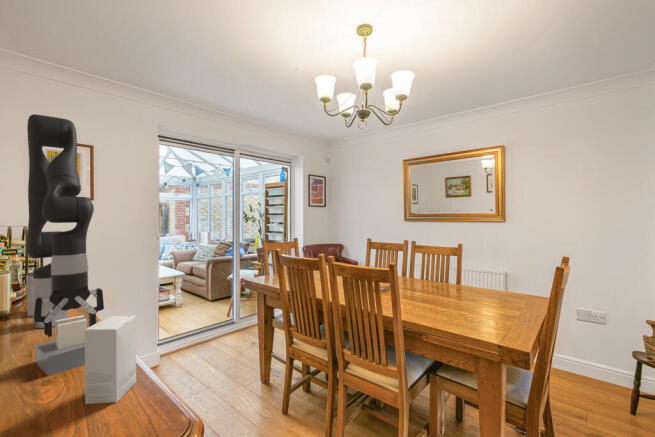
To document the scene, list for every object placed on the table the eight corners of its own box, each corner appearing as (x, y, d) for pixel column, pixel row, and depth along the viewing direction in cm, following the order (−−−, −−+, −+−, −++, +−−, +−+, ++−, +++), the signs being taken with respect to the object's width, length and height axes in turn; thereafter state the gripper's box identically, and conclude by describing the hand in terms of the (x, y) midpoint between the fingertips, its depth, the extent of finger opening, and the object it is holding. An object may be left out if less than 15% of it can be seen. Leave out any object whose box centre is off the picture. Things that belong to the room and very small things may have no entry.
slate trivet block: (35, 364, 82) (35, 345, 82) (90, 348, 91) (90, 331, 91) (48, 377, 75) (47, 357, 75) (106, 358, 84) (105, 340, 84)
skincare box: (109, 383, 71) (107, 315, 71) (139, 381, 72) (138, 314, 71) (83, 405, 63) (81, 329, 62) (117, 403, 63) (116, 327, 63)
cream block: (55, 342, 83) (54, 320, 83) (83, 336, 87) (83, 315, 87) (57, 349, 79) (57, 326, 79) (87, 342, 83) (86, 320, 83)
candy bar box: (56, 308, 131) (55, 269, 131) (65, 308, 130) (65, 269, 130) (25, 316, 120) (25, 274, 120) (36, 317, 120) (35, 274, 119)
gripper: (99, 266, 91) (100, 321, 91) (32, 273, 80) (33, 335, 80) (105, 269, 85) (106, 327, 85) (34, 276, 75) (35, 343, 75)
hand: (71, 331), depth 83 cm, fingers open, 8 cm apart
